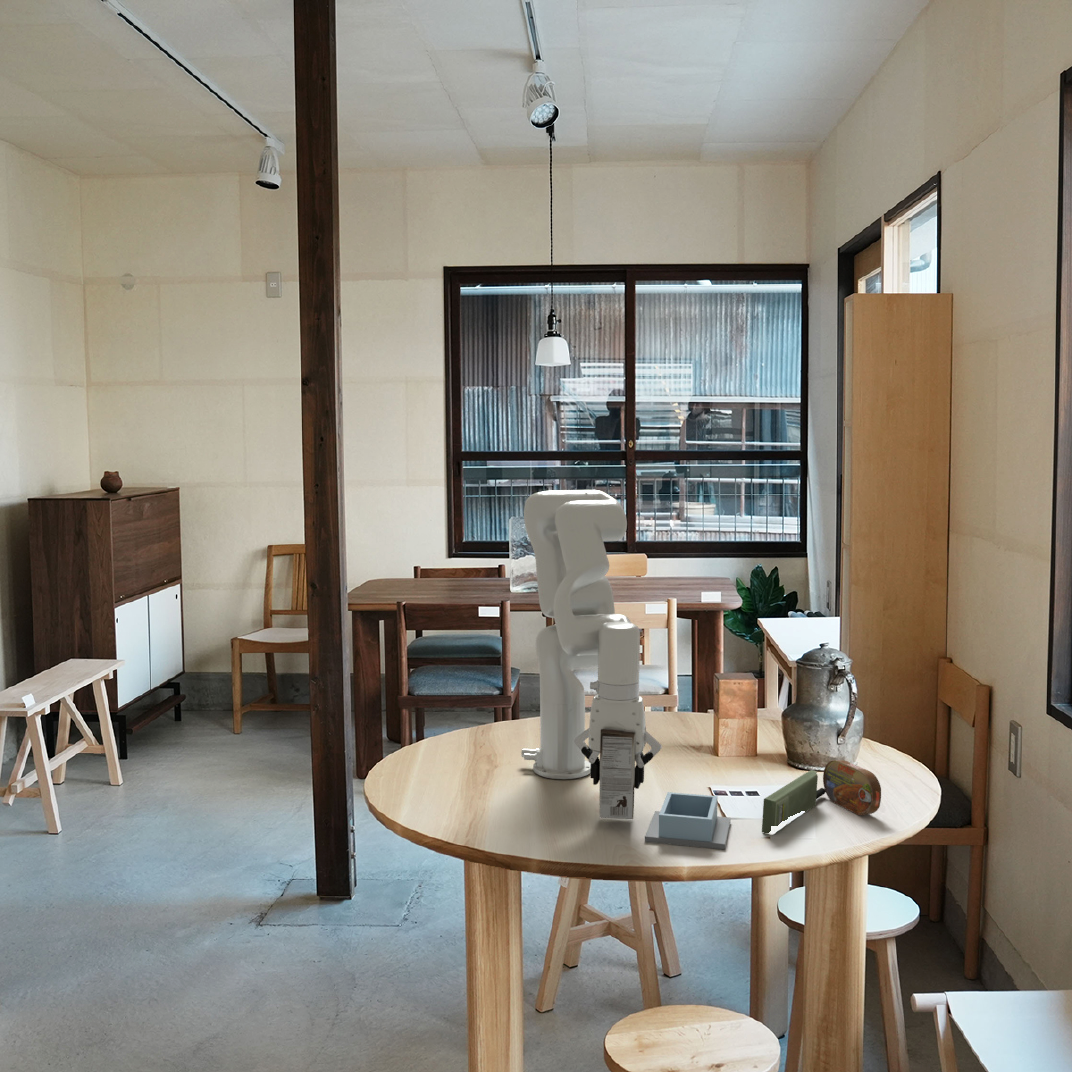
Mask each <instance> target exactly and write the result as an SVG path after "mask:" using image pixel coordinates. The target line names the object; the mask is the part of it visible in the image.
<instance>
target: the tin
mask: <svg viewBox="0 0 1072 1072" xmlns="http://www.w3.org/2000/svg"><path fill="white" fill-rule="evenodd" d="M822 774H823V775H822V782H823V784H822V785H823V788H824V789H825V792H826V793H825V794H826V796H827V797H828V799H829V800H830V801H831V802H832V803H834V804H836V805H837V804H838V806H839V805H840V807H841V806H842V808H844V809H846V810H847V811H849V812H852V813H853V814H855V815H857V816H865V815H873V814H875V813H876V812H877V811H879V809H880V806H881V802H882V786H881V783H880V781H879V780H878V778H877V776H876V775H875V774H874V773H873V772H872V771H870V770H868V769H865V768H864V767H861V766H858V765H856V764H854V763H852V762H849V761H847V760H842V759H841V760H837V759H833V760H830V761H828V762H827V763H826V765H825V766H824V770H823V773H822Z"/></svg>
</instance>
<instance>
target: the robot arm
mask: <svg viewBox="0 0 1072 1072" xmlns="http://www.w3.org/2000/svg"><path fill="white" fill-rule="evenodd" d="M523 518H524V519H523V520H524V526H525V531H526V534H527V536H528V540H529V542H530V544H531V547H532V549H533V552H534V557H535V559H534V560H535V568H536V580H537V593H538V601H539V608H540V610H541V613H542V614H543V615H544V616H545V617H548V618H552V619H554V623H555V624H553V625H548V626H546V627H544V628H542V629H541V630H540V631H539V632H538V633H537V634H536V638H535V650H536V651H535V653H536V658H537V664H538V672H539V691H540V692H539V697H540V699H539V701H540V702H539V704H540V705H539V706H540V709H539V711H540V715H539V718H540V723H539V725H540V726H539V727H540V729H539V730H540V731H539V732H540V734H539V735H540V736H539V737H540V745H539V746H540V747H536V749H533V748H527V747H526V748H525V747H523V748H522V749H521V752H520V753H521V757H522V758H523V759H524V761H534V763H533V768H532V769H533V773H535V774H536V775H538V776H539V777H543V778H548V779H553V780H574V779H579V778H583V777H586V776H588V775H589V774H590V779H593V780H592V781H593V782H592V784H593V786H596V785H598V784H599V783H600V734H601V729H610V730H618V731H625V732H635V782H634V790H638V789H639V788H640V786H641V784H644V781H645V766H646V765H647V764H648V763H649V762H650V761H651V760H653V758H654V757H655V756H656V755H657V754H658V753H659V752H660V751H661V749H662V744H661V742H659V741H658V740H657V739H655V737H654V736H653V735H652V734H650V733H649V732H648V731H647V730H646V729H647V727H646V726H647V725H646V713H645V707H644V705H645V704H644V700H643V697H642V696H640V660H641V659H640V657H641V656H640V653H641V651H640V649H641V648H640V647H641V645H640V644H641V632H640V628H639V627H638V626H637V625H636V624H634V623H632V622H631V620H630V618H629V617H628V616H626V615H625V614H621V613H616V612H615V611H616V610H615V601H614V592H613V588H612V586H611V585H612V584H611V583H610V580H609V579H608V578H607V576H606V574H608V572H609V570H610V561H609V558H608V554H607V550H606V547H605V543H604V542H616V541H619V540H622V539H623V538H624V537H625V534H626V531H627V528H628V527H627V525H628V521H627V516H626V512H625V509H624V508H623V505H622V504H621V503H620V502H619V501H618V500H617V499H616V498H614V497H612V496H610V495H609V494H607V493H606V492H604V491H602V490H600V489H599V490H597V489H571V490H570V489H568V490H567V489H561V490H560V489H558V490H557V489H555V490H544V491H543V490H542V491H538V492H535V493H533V494H531V495H530V496H528V497H527V499H526V501H525V503H524V507H523ZM592 668H594V669H595V668H597V680H596V681H590V683H589V689H590V690H594V691H595V692H596V694H595V695H594V696H593V698H592V701H591V708H590V715H589V725H588V726H589V727H588V728H587V729H586V692H585V688H584V685H583V683H582V682H581V680H580V679H579V678H578V677H577V676H576V675H575V673H574V671H575V670H581V669H592ZM587 739H588V744H587V743H586V740H587ZM646 743H647V745H649V746H650V749H649V750H648V751H647V752H646V753H644V749H645V747H646ZM586 759H587V760H586Z"/></svg>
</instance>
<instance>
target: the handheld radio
mask: <svg viewBox="0 0 1072 1072" xmlns="http://www.w3.org/2000/svg"><path fill="white" fill-rule="evenodd" d="M825 794H826V792H825V789H824V787H821V788H820V787H819V789H818V771H816V770H813V769H811V770H808V771H807V772H805V773H803V774H802V775H799V776H798V777H797V778H796V779H794V780H792V781H790V782H788V783H787V784H786V785H784V786H783V787H781V788H779V789H778V790H776V791H774V792H773V793H771V794H770V795H768V796H766V797H765V798H763V805H762V806H763V807H762V821H761V823H762V824H761V833H762V832H764V833H763V834H765V833H769V832H770V831H771V826H778V825H779V824H780V823H781V822H782V821H785V820H787V819H788V817H790V816H793V815H795V814H797V813H800V812H801V811H805V812H806V813H808V811H810V810H812V809H813V808H814V807H816V805H817V799H819V798H821V797H822V796H823V795H825Z"/></svg>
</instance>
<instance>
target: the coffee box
mask: <svg viewBox="0 0 1072 1072" xmlns="http://www.w3.org/2000/svg"><path fill="white" fill-rule="evenodd" d="M599 760H600V780H599V818H600V819H612V820H614V819H615V820H633V819H634V814H635V813H634V811H635V809H634V805H635V788H634V782H635V766H636V761H635V732H625V731H618V730H610V729H601V734H600V754H599Z"/></svg>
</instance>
